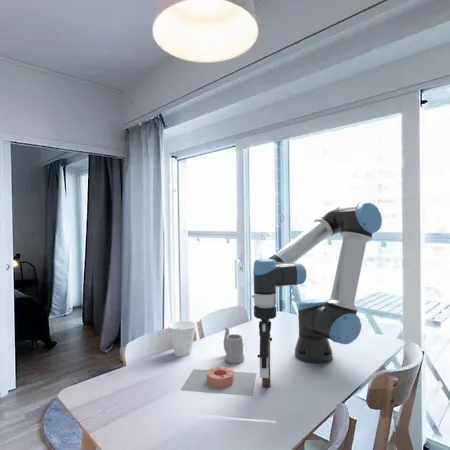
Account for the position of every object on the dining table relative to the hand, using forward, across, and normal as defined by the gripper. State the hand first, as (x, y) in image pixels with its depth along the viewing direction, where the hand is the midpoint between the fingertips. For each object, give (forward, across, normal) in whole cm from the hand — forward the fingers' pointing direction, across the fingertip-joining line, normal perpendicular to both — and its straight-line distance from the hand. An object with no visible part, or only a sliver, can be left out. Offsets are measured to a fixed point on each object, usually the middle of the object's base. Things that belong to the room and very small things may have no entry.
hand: (265, 368), depth 110 cm
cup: (+7, -24, -37) cm, 45 cm away
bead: (+6, -1, -16) cm, 17 cm away
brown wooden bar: (+6, 0, 0) cm, 6 cm away
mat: (+7, -1, -16) cm, 17 cm away
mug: (+7, -21, -15) cm, 27 cm away
